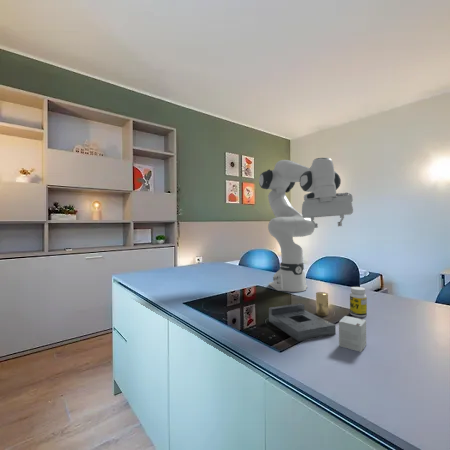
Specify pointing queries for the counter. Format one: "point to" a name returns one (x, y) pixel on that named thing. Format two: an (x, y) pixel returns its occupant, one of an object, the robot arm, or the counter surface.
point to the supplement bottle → (358, 302)
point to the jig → (300, 322)
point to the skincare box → (352, 333)
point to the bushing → (322, 303)
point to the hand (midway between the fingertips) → (327, 227)
